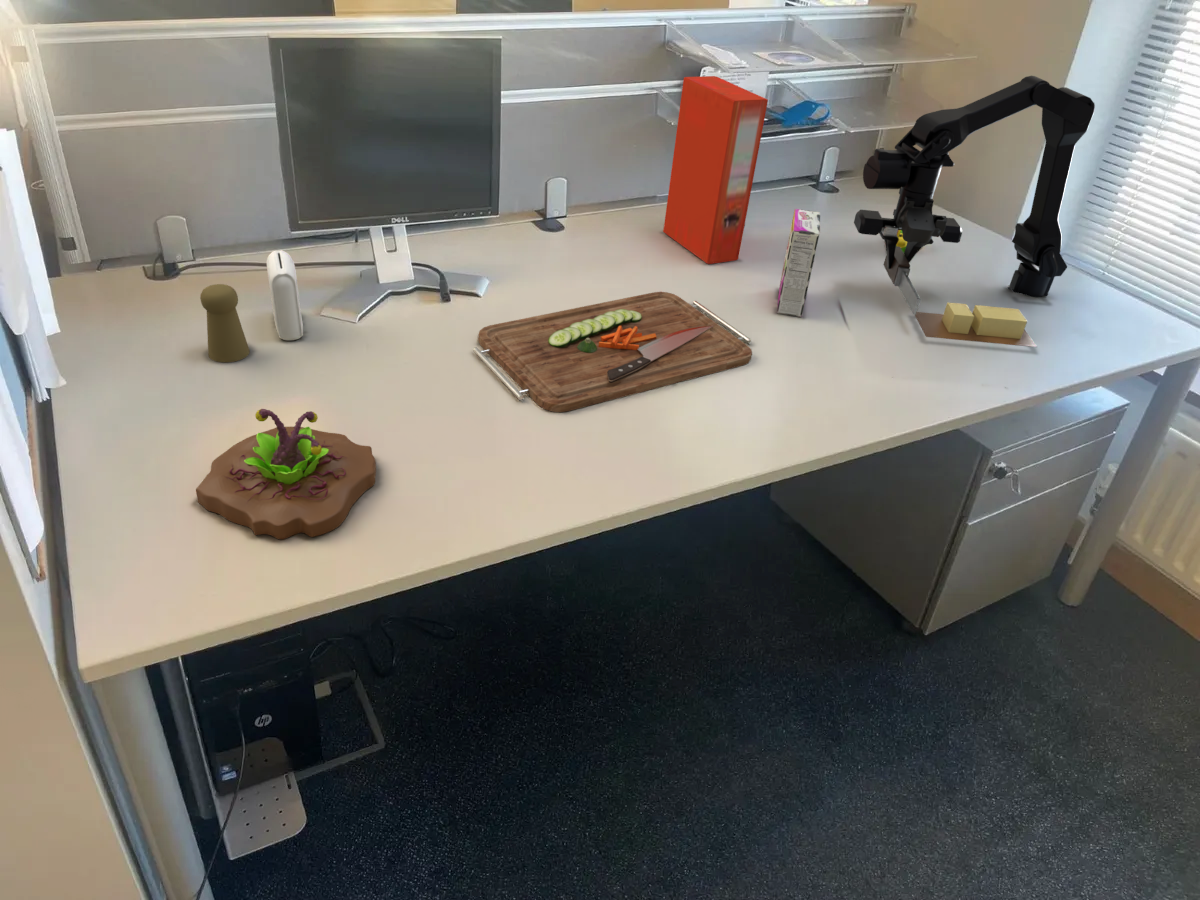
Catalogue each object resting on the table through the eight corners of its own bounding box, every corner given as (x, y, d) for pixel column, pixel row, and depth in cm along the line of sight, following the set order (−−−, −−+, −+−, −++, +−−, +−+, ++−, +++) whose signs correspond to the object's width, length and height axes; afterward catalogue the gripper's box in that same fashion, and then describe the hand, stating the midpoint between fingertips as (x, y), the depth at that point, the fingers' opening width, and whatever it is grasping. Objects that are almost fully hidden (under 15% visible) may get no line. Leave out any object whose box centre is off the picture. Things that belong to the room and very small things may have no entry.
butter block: (1011, 326, 167) (1018, 308, 165) (1020, 339, 163) (1027, 321, 161) (968, 322, 167) (975, 304, 165) (976, 335, 163) (983, 317, 161)
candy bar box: (777, 289, 175) (794, 207, 166) (803, 293, 175) (821, 211, 165) (774, 314, 166) (792, 229, 157) (801, 318, 166) (821, 233, 156)
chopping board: (678, 293, 170) (680, 278, 168) (770, 358, 152) (773, 342, 150) (459, 338, 149) (458, 321, 148) (535, 419, 131) (536, 401, 129)
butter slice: (960, 321, 167) (966, 304, 165) (967, 334, 163) (974, 316, 161) (941, 319, 167) (947, 302, 165) (948, 332, 163) (954, 314, 161)
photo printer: (273, 313, 151) (262, 244, 144) (299, 311, 153) (290, 242, 146) (277, 342, 144) (266, 271, 137) (305, 340, 145) (296, 268, 138)
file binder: (694, 229, 198) (716, 75, 179) (739, 259, 186) (768, 98, 167) (663, 233, 194) (682, 77, 176) (706, 264, 182) (732, 100, 164)
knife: (894, 265, 177) (899, 246, 174) (920, 315, 159) (927, 294, 157) (883, 264, 177) (888, 245, 174) (908, 314, 159) (914, 293, 157)
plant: (268, 427, 125) (257, 357, 118) (397, 460, 121) (392, 389, 114) (172, 513, 109) (152, 437, 102) (316, 553, 105) (306, 477, 98)
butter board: (1017, 327, 170) (1019, 321, 169) (1035, 352, 161) (1037, 347, 161) (911, 317, 170) (913, 311, 169) (924, 342, 161) (926, 336, 161)
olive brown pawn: (257, 348, 142) (247, 284, 135) (233, 365, 137) (221, 300, 131) (225, 340, 143) (213, 276, 137) (199, 356, 138) (186, 291, 132)
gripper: (875, 199, 157) (854, 282, 166) (982, 209, 157) (955, 291, 166) (863, 178, 166) (844, 257, 175) (964, 187, 166) (939, 266, 175)
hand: (895, 268), depth 172 cm, fingers closed on knife, 2 cm apart
